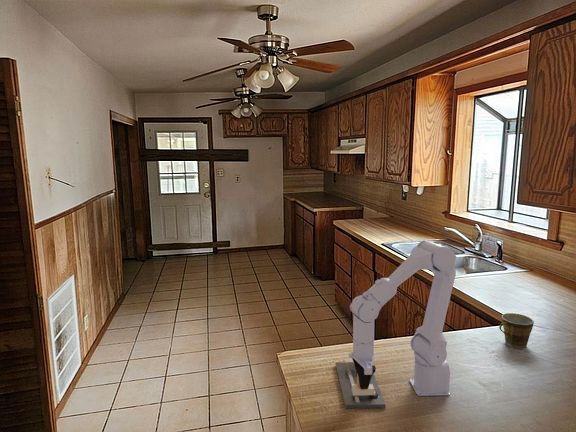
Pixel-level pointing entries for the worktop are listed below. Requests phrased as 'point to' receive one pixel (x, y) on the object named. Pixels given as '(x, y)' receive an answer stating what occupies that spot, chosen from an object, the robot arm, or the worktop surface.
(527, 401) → the worktop surface
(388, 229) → the worktop surface
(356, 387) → the block with orange knob
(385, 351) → the worktop surface
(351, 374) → the hole plate
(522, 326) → the ceramic cup
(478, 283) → the worktop surface
